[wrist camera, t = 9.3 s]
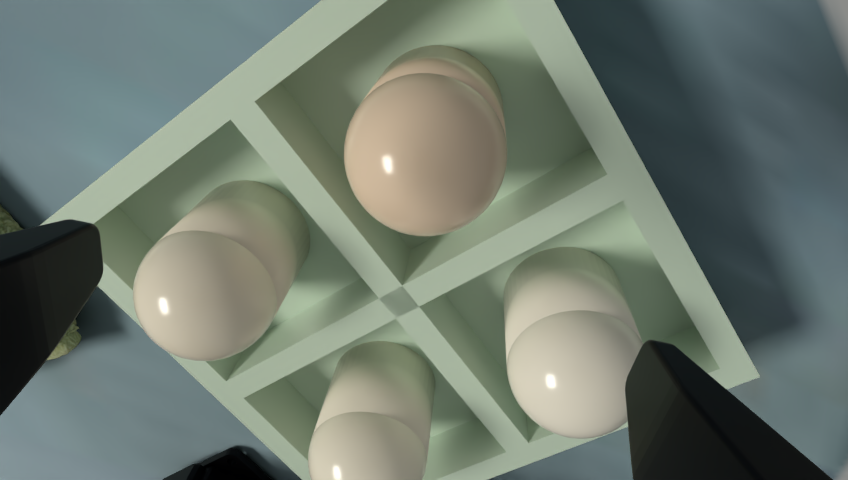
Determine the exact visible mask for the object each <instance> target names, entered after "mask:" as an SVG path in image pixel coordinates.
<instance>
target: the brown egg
mask: <svg viewBox="0 0 848 480" xmlns="http://www.w3.org/2000/svg"><path fill="white" fill-rule="evenodd" d="M344 164H345V170H346V175H347V178H348V181H349V184H350V186H351V189H352V191H353V193H354V195H355V197H356V198H357V199H358V201H359V202H360V204H361V205H362V206H363V207H364V209H365V210H366V211H367V212H368V213H369V214H370V215H371V216H373V217H374V218H375V219H376V220H377V221H379V222H380V223H382V224H383V225H385V226H387V227H389V228H391V229H393V230H395V231H398V232H400V233H404V234H408V235H414V236H437V235H442V234H447V233H450V232H453V231H456V230H458V229H460V228H463V227H465V226H466V225H468V224H469V223H471V222H472V221H474V220H475V219H476V218H477V217H479V216H480V215H481V214H482V213H483V212H484V211H485V210H486V209H487V208H488V207H489V206H490V204H491V203H492V201H493V200H494V198H495V197H496V195H497V193H498V191H499V189H500V187H501V185H502V182H503V179H504V176H505V171H506V166H507V140H506V130H505V119H504V109H503V100H502V96H501V92H500V89H499V87H498V84H497V82H496V80H495V78H494V77H493V75H492V74H491V73H490V71H489V70H488V69H487V68H486V67H485V65H484V64H483V63H482V62H480V61H479V60H478V59H477V58H475V57H474V56H472V55H470V54H469V53H467V52H465V51H463V50H460V49H457V48H454V47H450V46H443V45H430V46H423V47H419V48H415V49H413V50H410V51H408V52H406V53H404V54H403V55H401V56H399V57H398V58H397V59H395V60H394V61H393V62H392V63H391V64H390V65H389V66H388V67H387V68H386V69H385V70H384V72H383V73H382V75H381V76H380V77H379V79H378V80H377V82H376V83H375V84H374V86H373V87H372V88H371V90H370V91H369V93H368V94H367V95H366V97H365V98H364V100H363V101H362V102H361V104H360V105H359V107H358V108H357V109H356V111H355V113H354V115H353V117H352V119H351V121H350V124H349V127H348V129H347V132H346V138H345V143H344Z"/></svg>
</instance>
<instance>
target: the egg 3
mask: <svg viewBox="0 0 848 480" xmlns="http://www.w3.org/2000/svg"><path fill="white" fill-rule="evenodd" d="M503 301H504V321H505V342H506V363H507V374H508V380H509V384H510V387H511V390H512V392H513V395H514V397H515V399H516V400H517V402H518V404H519V405H520V407H521V408H522V409H523V411H524V412H525V413H526V414H527V415H528V416H529V417H530V418H531V419H532V420H533V421H534V422H536V423H537V424H538V425H540V426H541V427H543V428H544V429H546V430H548V431H550V432H552V433H555V434H558V435H560V436H564V437H569V438H577V439H587V438H595V437H599V436H603V435H606V434H608V433H611V432H613V431H615V430H616V429H618V428H619V427H621V426H622V425H624V424H625V423H626V422H627V421H628V420H627V408H626V397H625V384H626V379H627V376H628V374H629V372H630V370H631V368H632V365H633V363H634V361H635V359H636V357H637V355H638V353H639V351H640V349H641V347H642V345H643V342H642V340H641V337H640V334H639V332H638V329H637V326H636V324H635V321H634V319H633V316H632V313H631V311H630V308H629V305H628V303H627V300H626V298H625V295H624V292H623V290H622V287H621V284H620V282H619V279H618V277H617V275H616V273H615V271H614V270H613V268H612V267H611V266H610V265H609V264H608V263H607V262H606V261H605V260H604V259H602V258H601V257H600V256H598V255H596V254H594V253H592V252H590V251H587V250H584V249H580V248H574V247H555V248H550V249H546V250H542V251H539V252H537V253H535V254H533V255H531V256H529V257H528V258H526V259H525V260H523V261H522V262H521V263H520V264H519V265H518V266H517V267H516V268H515V269H514V270H513V271H512V273H511V274H510V276H509V278H508V279H507V282H506V284H505V288H504V296H503Z"/></svg>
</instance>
